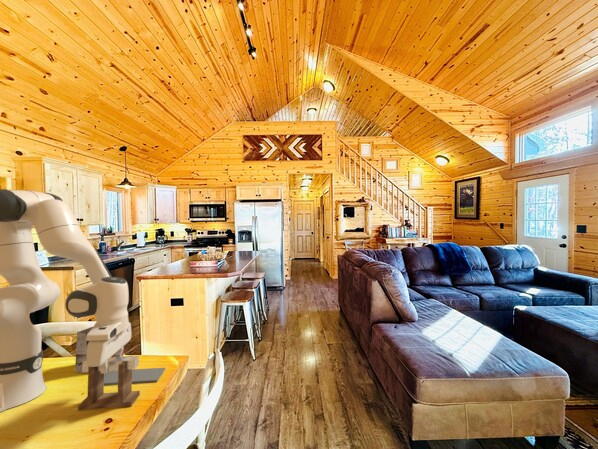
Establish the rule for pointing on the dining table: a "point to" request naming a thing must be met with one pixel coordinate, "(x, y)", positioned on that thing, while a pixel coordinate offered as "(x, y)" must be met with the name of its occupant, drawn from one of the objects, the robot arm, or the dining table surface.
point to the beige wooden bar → (116, 363)
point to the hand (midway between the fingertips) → (111, 366)
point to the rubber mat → (135, 376)
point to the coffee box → (81, 349)
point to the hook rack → (109, 400)
